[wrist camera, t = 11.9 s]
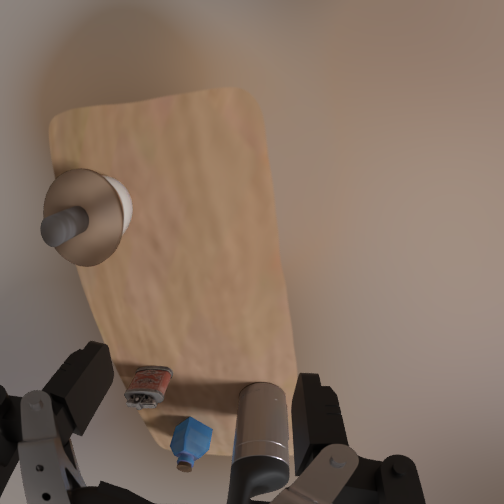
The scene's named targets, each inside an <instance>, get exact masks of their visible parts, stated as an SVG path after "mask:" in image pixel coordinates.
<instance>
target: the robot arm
mask: <svg viewBox="0 0 504 504" xmlns="http://www.w3.org/2000/svg"><path fill="white" fill-rule="evenodd" d="M113 377H114V371H113V366H112V361H111V357H110V352H109V347H108V345H106V344H103V343H98V342H95V341H90V342H89V343H88V344H87V345H86V346H85V348H84V349H83V350H81V349H79V350H77V351H76V352H74V353H72V354H71V355H70V356H69V357H68V358H67V359H66V361H65V362H64V364H62V365H61V367H60V368H59V370H57V372H56V373H55V374H54V375H53V377H52V378H51V379H50V381H49V382H48V383H47V384H46V385H45V387H44V388H43V389H42V390H34V391H31V392H28V393H27V394H25V395H24V396H23V397H17V396H10V395H8V394H7V392H6V390H5V388H4V387H3V386H1V385H0V497H1V495H2V493H3V491H4V488H5V487H6V484H7V482H8V480H9V478H10V476H11V474H12V472H13V471H14V469H15V467H16V465H17V463H18V461H20V468H21V474H22V480H23V486H24V491H25V496H26V500H27V504H155V503H152V502H150V501H148V500H146V499H144V498H142V497H140V496H138V495H136V494H135V493H133V492H131V491H129V490H127V489H124V488H121V487H118V486H114V485H112V484H109V483H106V482H103V481H100V484H99V486H98V487H96V486H95V487H94V486H88V487H87V486H86V484H85V482H84V480H83V478H82V476H81V473H80V470H79V467H78V463H77V460H76V457H75V453H74V450H73V445H72V442H71V439H70V437H71V435H72V433H75V434H77V435H80V436H82V435H83V434H84V432H85V430H86V428H87V426H88V424H89V422H90V421H91V419H92V417H93V416H94V414H95V412H96V410H97V408H98V407H99V405H100V403H101V401H102V400H103V398H104V396H105V395H106V393H107V391H108V389H109V388H110V386H111V384H112V382H113ZM291 414H292V429H293V445H294V461H295V476H299V477H298V478H297V479H296V480H295V482H294V483H293V484H292V485H291V486H290V487H288V488H285V489H284V490H282V491H281V492H280V493H279V495H277V496H276V497H275V498H274V499H273V500H272V501H271V502H266V501H265V502H264V501H254V500H251V499H250V498H252V497H254V496H257V495H260V494H264V493H269V492H273V491H276V490H278V489H280V488H282V487H283V486H285V485H286V484H287V483H288V480H289V454H288V440H289V432H288V414H287V405H286V396H285V393H284V391H283V390H282V389H281V388H279V387H278V386H276V385H273V384H270V383H255V384H252V385H249V386H247V387H245V388H244V389H243V390H242V391H241V393H240V395H239V403H238V412H237V420H236V429H235V438H234V447H233V456H232V466H231V474H230V485H229V492H228V499H227V504H426V503H425V499H424V495H423V491H422V487H421V483H420V480H419V476H418V473H417V470H416V466H415V464H414V462H413V461H412V460H411V459H410V458H408V457H406V456H403V455H392V456H389V457H387V458H386V459H385V460H384V461H383V462H382V461H376V460H370V459H365V458H362V457H360V456H358V455H357V454H356V452H355V451H354V450H353V449H352V448H350V447H349V445H348V441H347V437H346V432H345V427H344V423H343V419H342V415H341V410H340V407H339V402H338V397H337V395H336V393H335V392H334V391H333V390H332V388H331V387H330V386H321V383H320V378H319V375H318V374H314V373H300V374H299V376H298V380H297V384H296V388H295V391H294V395H293V399H292V407H291Z"/></svg>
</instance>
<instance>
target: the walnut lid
mask: <svg viewBox="0 0 504 504" xmlns="http://www.w3.org/2000/svg"><path fill="white" fill-rule="evenodd" d="M43 214H44V219H43V221H42V223H41V235H42V238H43V240H44V241H45V243H46V244H48V245H49V246H51V247H55V249H56V250H57V252H58V253H59V254H60V255H61V256H62V257H64V258H65V259H66V260H68V261H69V262H71V263H73V264H76V265H78V266H85V267H89V266H95V265H98V264H100V263H102V262H103V261H105V260H106V259H107V258H109V257H110V256H111V255H112V254H113V253H114V251H115V250H116V249H117V247H118V245H119V243H120V240H121V238H122V234H123V227H124V218H123V210H122V205H121V202H120V199H119V197H118V195H117V193H116V191H115V189H114V188H113V186H112V185H111V184H110V182H109V181H108V180H107V179H106V178H104V177H103V176H102V175H101V174H99V173H97V172H95V171H92V170H89V169H74V170H70V171H67V172H65V173H63V174H61V175H60V176H59V177H57V178H56V179H55V181H54V182H53V183H52V185H51V186H50V188H49V190H48V192H47V194H46V198H45V202H44V211H43Z"/></svg>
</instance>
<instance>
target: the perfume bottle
mask: <svg viewBox="0 0 504 504" xmlns="http://www.w3.org/2000/svg"><path fill="white" fill-rule="evenodd" d="M212 430H213V429H211V428H209V427H208V426H206V425H204V424H202V423H201V422H199V421H197V420H195V419H194V418H192V417H189V418H187V419H186V420H185V421H183V422H182V423H180V424H179V425H177V426H176V428H175V431H174V434H173V438H172V441H171V444H170V447H171V449H172V452H173V454H174V455H175V456H177V457H178V460H177V464H178V465H177V469H178V470H180V471H183V472H191V471H192V467H193V465H194V461H195V460H197V459H199V458H201V456H203V455H204V454H205V453H206V452H207V451H208V450H209V446H210V441H211V435H212Z"/></svg>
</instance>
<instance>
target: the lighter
mask: <svg viewBox="0 0 504 504" xmlns="http://www.w3.org/2000/svg"><path fill="white" fill-rule="evenodd" d="M172 376H173V371H172V370H171V369H170V368H168V367H163V366H147V367H142V368H138V369H137V371H136V375H135V377H134V379H133V381H132V383H131V384H130V386H129V388H128V390H126V392H125V394H124V396H125V398H126V399H127V402H126V405H127V406H128V407H136V409H137V410H141V409H142V408H156V406H157V404H158V403H161V402H162V401H163V399H164V394H165V391H166V389H167V386H168V384H169V381H170V379H171V378H172Z"/></svg>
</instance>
